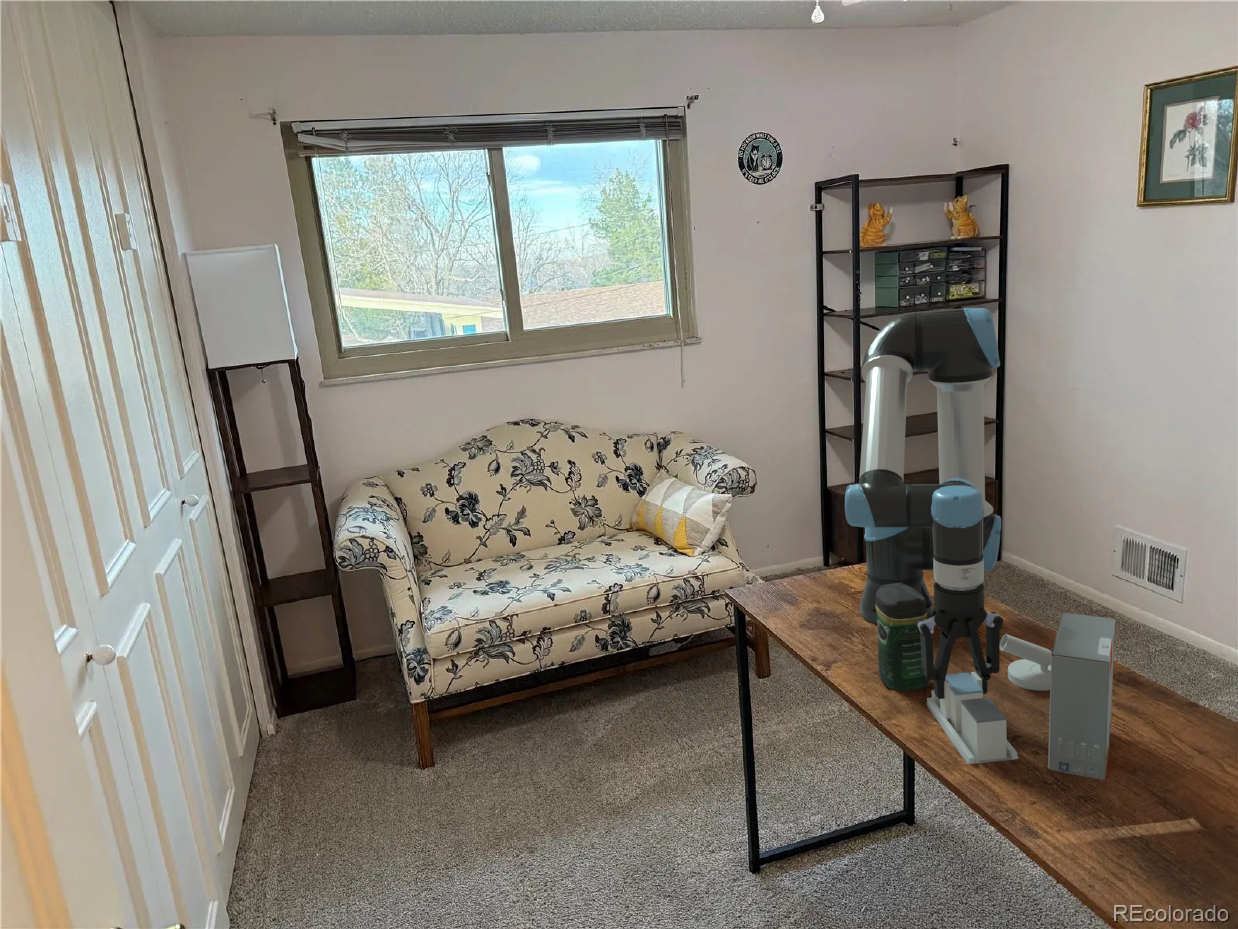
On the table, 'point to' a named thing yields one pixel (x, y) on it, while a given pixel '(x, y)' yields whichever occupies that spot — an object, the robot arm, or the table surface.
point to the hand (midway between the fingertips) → (961, 712)
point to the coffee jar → (900, 637)
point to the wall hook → (1028, 664)
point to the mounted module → (984, 729)
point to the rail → (957, 736)
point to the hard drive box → (1081, 695)
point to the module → (961, 695)
